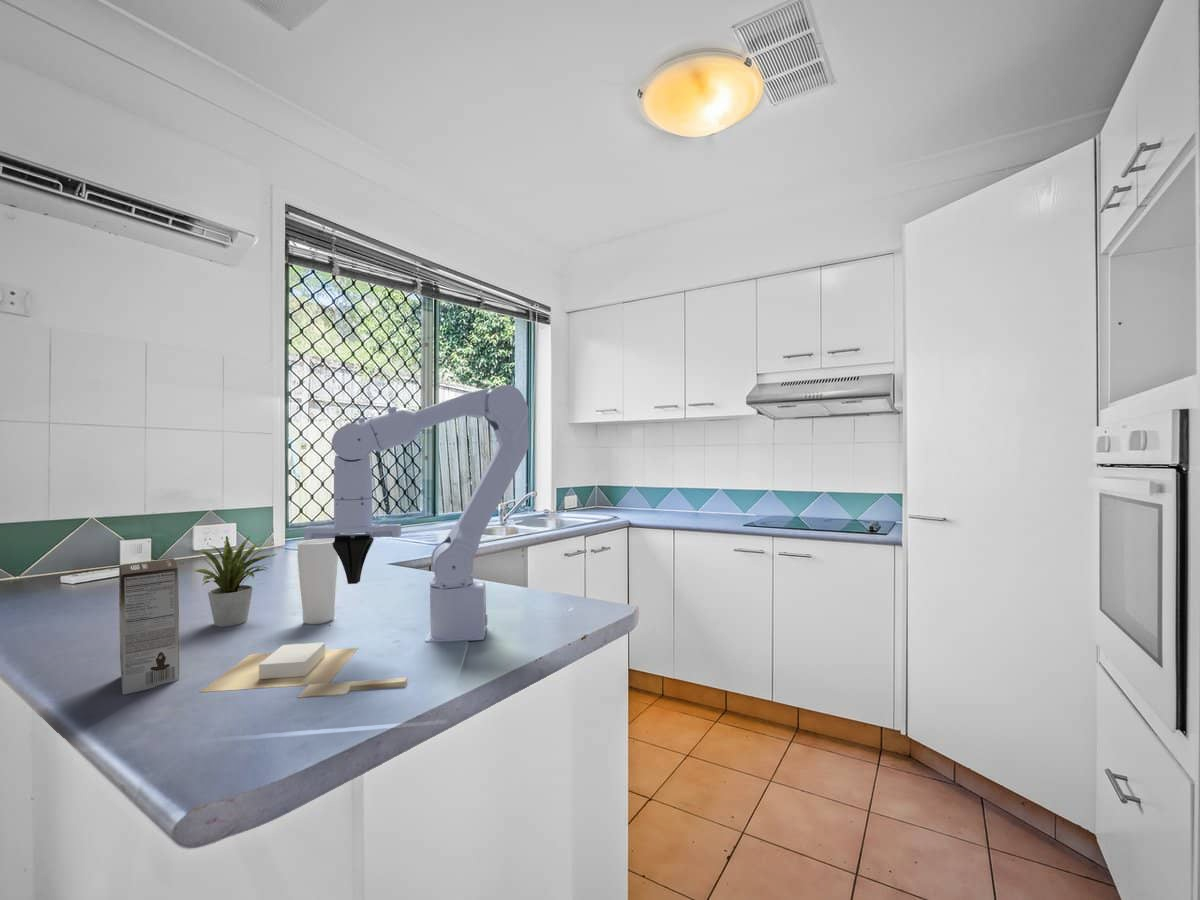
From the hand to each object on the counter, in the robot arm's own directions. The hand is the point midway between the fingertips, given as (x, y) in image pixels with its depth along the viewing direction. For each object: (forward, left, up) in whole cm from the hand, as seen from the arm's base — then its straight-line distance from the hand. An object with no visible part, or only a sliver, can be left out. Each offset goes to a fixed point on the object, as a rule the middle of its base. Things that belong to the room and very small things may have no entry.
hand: (353, 582), depth 92 cm
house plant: (+27, -17, -11) cm, 33 cm away
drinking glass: (+11, -16, -11) cm, 22 cm away
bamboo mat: (+7, +9, -10) cm, 15 cm away
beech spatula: (-5, +18, -10) cm, 21 cm away
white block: (+3, +9, -9) cm, 13 cm away
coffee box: (+25, +9, -11) cm, 29 cm away
